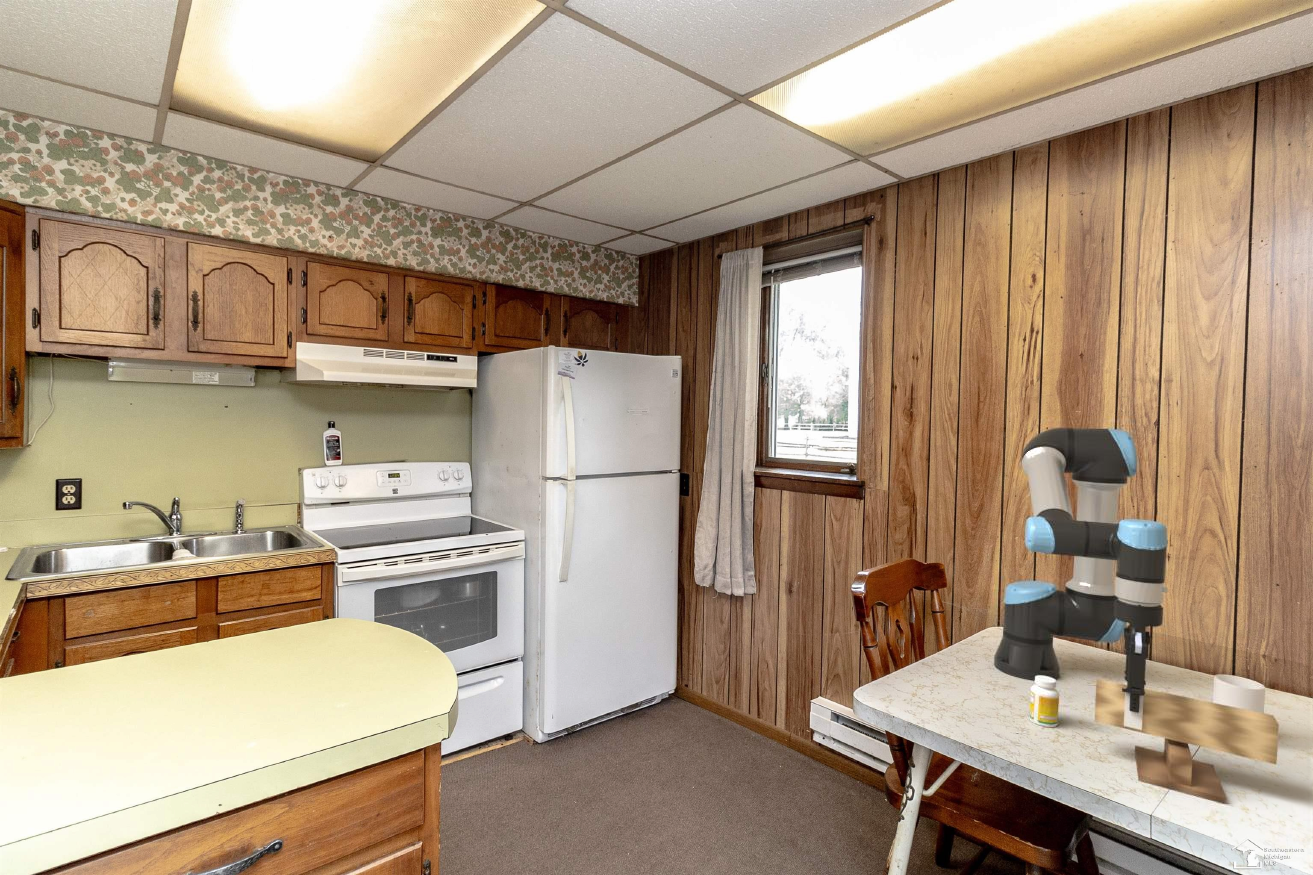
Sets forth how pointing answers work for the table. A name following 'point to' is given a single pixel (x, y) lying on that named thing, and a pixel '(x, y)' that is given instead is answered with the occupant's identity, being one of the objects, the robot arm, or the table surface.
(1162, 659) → the table surface
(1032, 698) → the supplement bottle
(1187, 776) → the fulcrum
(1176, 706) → the plank
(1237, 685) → the mug
